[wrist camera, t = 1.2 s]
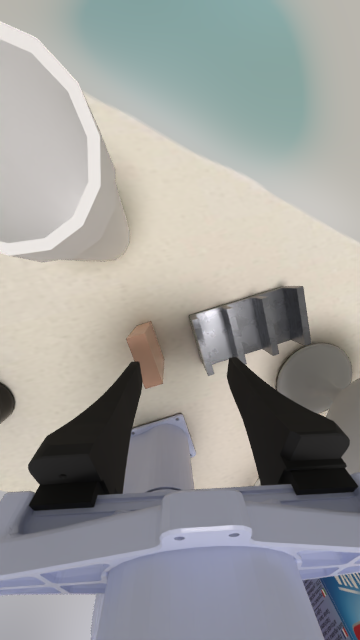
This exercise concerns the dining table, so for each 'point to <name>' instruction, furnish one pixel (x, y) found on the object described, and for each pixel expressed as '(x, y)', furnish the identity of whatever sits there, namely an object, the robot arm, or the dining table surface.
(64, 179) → the foam cup
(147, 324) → the tan wooden block
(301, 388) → the chalice
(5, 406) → the supplement bottle
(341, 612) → the beverage box
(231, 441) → the dining table surface
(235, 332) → the dish rack
